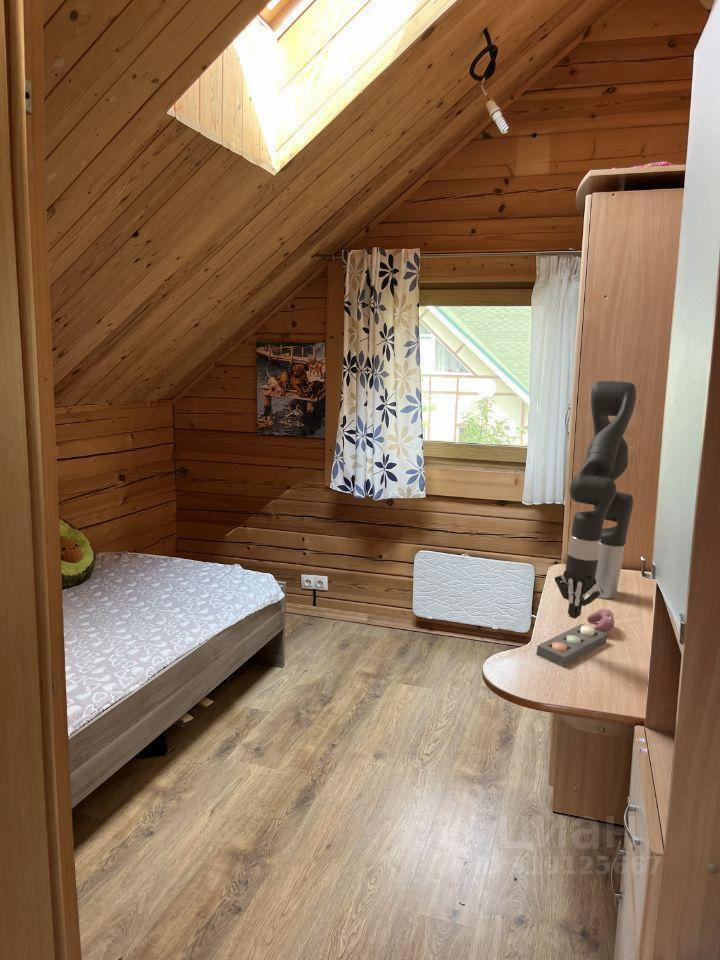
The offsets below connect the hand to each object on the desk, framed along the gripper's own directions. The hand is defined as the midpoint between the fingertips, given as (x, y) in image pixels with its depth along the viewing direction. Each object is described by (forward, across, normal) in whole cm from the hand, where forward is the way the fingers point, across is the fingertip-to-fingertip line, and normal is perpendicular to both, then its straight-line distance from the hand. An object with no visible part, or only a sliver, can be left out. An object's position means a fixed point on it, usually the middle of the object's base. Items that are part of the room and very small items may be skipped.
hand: (573, 617), depth 175 cm
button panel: (+9, 0, +1) cm, 9 cm away
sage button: (+9, 0, +1) cm, 9 cm away
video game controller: (+10, -1, +18) cm, 21 cm away
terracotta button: (+8, 0, -6) cm, 10 cm away
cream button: (+8, 0, +8) cm, 11 cm away
